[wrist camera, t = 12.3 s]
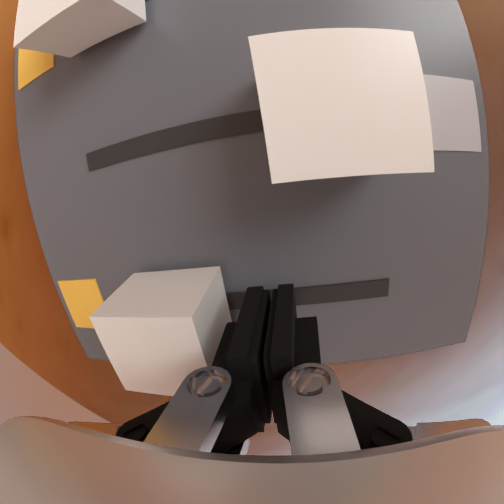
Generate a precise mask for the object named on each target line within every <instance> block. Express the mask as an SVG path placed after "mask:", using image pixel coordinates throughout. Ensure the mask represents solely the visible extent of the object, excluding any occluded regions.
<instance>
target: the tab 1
mask: <svg viewBox="0 0 504 504" xmlns="http://www.w3.org/2000/svg"><path fill="white" fill-rule="evenodd" d="M144 22H146V9H145V0H19V3H18V9H17V16H16V24H15V34H14V47H13V48H19V49H26V50H32V51H38V52H44V53H50V54H55V55H60V56H65V57H69V58H71V57H73V56H75V55H76V54H78V53H80V52H82V51H84V50H85V49H87V48H89V47H91V46H93V45H95V44H97V43H99V42H101V41H103V40H105V39H107V38H109V37H111V36H113V35H116V34H118V33H120V32H122V31H125V30H127V29H129V28H132V27H134V26H136V25H139V24H141V23H144Z"/></svg>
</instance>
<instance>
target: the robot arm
mask: <svg viewBox="0 0 504 504" xmlns="http://www.w3.org/2000/svg"><path fill="white" fill-rule="evenodd" d="M272 411H273V417H274V422H275V423H277V428H278V432H279V433H280V434H281V435H282V436H284V437H285V438H286V439H288V440H289V441H290V444H291V452H292V455H291V456H258V455H246V453H247V450H248V448H249V445H250V437H251V436H253V435H255V434H256V433H257V432H264V426H265V423H270V422H271V414H272ZM0 504H504V425H492V426H491V425H490V424H489V422H487V421H485V420H483V419H468V420H458V421H446V422H430V423H417V425H416V426H415V427H407V425H405V424H404V423H402V422H401V421H399V420H397V419H395V418H393V417H391V416H389V415H387V414H385V413H383V412H381V411H380V410H378V409H376V408H374V407H372V406H370V405H368V404H366V403H364V402H362V401H361V400H359V399H357V398H355V397H353V396H351V395H350V394H348V393H346V392H344V391H342V390H341V388H340V385H339V382H338V379H337V377H336V375H335V373H334V371H333V370H332V369H331V368H329V367H328V366H325V365H323V364H321V357H320V345H319V334H318V324H317V316H314V317H302V318H297V312H296V302H295V292H294V284H293V283H291V284H280V285H278V289H273V291H272V298H271V299H270V292H269V289H266V290H264V288H263V286H256V287H248V288H247V290H246V294H245V297H244V300H243V303H242V307H241V310H240V313H239V317H238V320H237V322H228V323H227V324H226V326H225V329H224V332H223V335H222V338H221V340H220V343H219V346H218V349H217V352H216V355H215V357H214V360H213V363H212V366H207V367H202V368H199V369H196V370H194V371H193V372H191V373H190V374H188V375H187V377H186V378H185V379H184V380H183V382H182V383H181V385H180V386H179V388H178V390H177V391H176V393H175V394H174V396H173V397H172V399H171V400H170V401H169V402H167V403H165V404H163V405H161V406H159V407H157V408H155V409H153V410H151V411H149V412H147V413H145V414H142V415H140V416H138V417H136V418H134V419H132V420H130V421H128V422H126V423H125V424H123V425H122V426H120V425H119V423H93V422H76V421H75V422H69V423H67V422H64V421H60V420H56V419H51V418H46V417H37V416H20V417H14V418H10V419H8V420H6V421H5V422H4V423H2V424H1V426H0Z"/></svg>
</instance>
